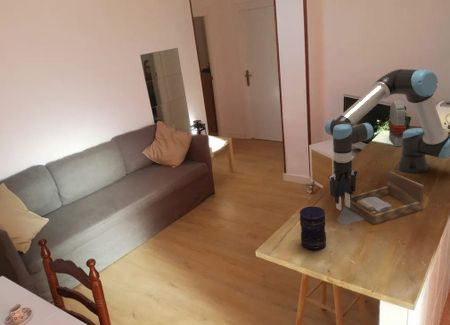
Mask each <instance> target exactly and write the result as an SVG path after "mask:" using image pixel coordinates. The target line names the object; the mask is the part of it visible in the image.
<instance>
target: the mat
mask: <svg viewBox="0 0 450 325" xmlns="http://www.w3.org/2000/svg"><path fill="white" fill-rule="evenodd" d="M364 220H365V221H366V219H364V218H363V217H361V216H360V215H358V214H357V213H355V212H354V211H352V210H351V209H349V208H348V207H346V206H345V205H344V206H343V208H342V209H341V212H340V214H339V215H338V216H337V218H336V222H338V223H340V225H341V226H347V225H348V226H349V225H350V224H354V223H358V222H362V221H364Z"/></svg>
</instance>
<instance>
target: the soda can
mask: <svg viewBox="0 0 450 325" xmlns="http://www.w3.org/2000/svg"><path fill="white" fill-rule="evenodd" d="M335 186H336V177H335ZM345 193H347V192H346V187H345V182H344V180H343V183H342V185H341V191H340V197H341V195H343V196H345Z"/></svg>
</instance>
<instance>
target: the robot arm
mask: <svg viewBox="0 0 450 325" xmlns="http://www.w3.org/2000/svg"><path fill="white" fill-rule="evenodd" d="M438 80H439V79H438V78H437V75H436V73H435V72H434V71H432V70H431V69H430V70H429V69H424V68H421V69H420V68H419V69H413V68H412V69H411V68H410V69H402V68H399V69H395V70H392V71H390V72H388V73H387V74H385V75H383V76H381V77H380V78H378V79H377V80H376V81H375V82H373V84H372V86H371V88H370V89H369V90H368V91H367V92H366V93H364V94H363V95H362V96H361V97H360V98H358V99H357V101H355V103H353V104H352V105H350V107H348V108H347V109H346V110H345V111H344V112H343V113H342V114H340V115H339V116H338V117H337V118H336V119H334V118H333V119H328V120H327V121H326V123H325V125H324V131H325V133H326V134H327V135H329V136H332V142H333V143H332V145H333V170H334V171H333V174H332V175H328V177H327V178H328V180H329V190H330V196H332V197H334V203H335V206H336V209H338V210H339V211H342V197H341V196H340V191H341V185H342V183H343V180H344V182H345V187H346V192H347V193H345V195H344V198H345V205H344V207H345V206H347V208H350V200H351V196H353V195H354V193H355V192H356V184H357V180H356V179H357V174H358V171H357V170H355V169H352V167H353V165H352V164H353V162H352V161H353V145H355V144H358V143H361V142H365V141H367V140H370V139H371V138H372V137H373V136H374V128H373V126H372V125H371V123H369V122H364V123H360V124H359V123H358V122H359V121H361V119H363V117H365V116H366V115H367V114H368V113H369V112H371V111H372V110H373V109H374V107H376V106H377V105H378V104H380V102H382V100H383V99H388V98H389V97H390V96H392V95H397V94H398V95H405V98H406V100H407V102H409V103H410V104H412V106H413V108H414V111H415V113H416V116H417V119H418V122H419V123H420V126H421V127H414V128H409V129H405V131H404V132H403V138H402V146H401V156H400V158H399V161H398V163H397V169H398V170H399V171H402V172H404V173H409V174H410V173H411V174H419V173H421V174H422V173H425V172H427V171H428V168H429V164H428V162H427V158H426V156H430V157H433V158H438V159H444V160H446V159H448V158H450V134H449V132H448V130H447V129H445V128H444V127H443V124H442V122H441V118H440V115H439V113H438V109H437V107H436V104H435V101H434V97H433V96H434V95H435V92H436V91H437V88H438V84H439V82H438ZM335 177H336V186H335Z"/></svg>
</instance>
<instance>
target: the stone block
mask: <svg viewBox="0 0 450 325" xmlns="http://www.w3.org/2000/svg"><path fill="white" fill-rule="evenodd" d="M363 200H365V201H366V202H368V203H369V204H371V205H372V206H374V211H375V212H377V214H378V213H381V212H384V211H388V210H391V209H392V204H391V203H389V202H387V201H384V200H382V199H380V197H378V198H377V197H368V198H365V199H363Z"/></svg>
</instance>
